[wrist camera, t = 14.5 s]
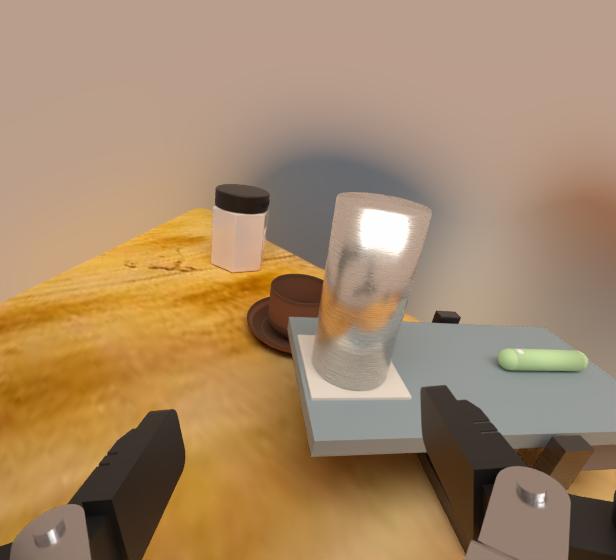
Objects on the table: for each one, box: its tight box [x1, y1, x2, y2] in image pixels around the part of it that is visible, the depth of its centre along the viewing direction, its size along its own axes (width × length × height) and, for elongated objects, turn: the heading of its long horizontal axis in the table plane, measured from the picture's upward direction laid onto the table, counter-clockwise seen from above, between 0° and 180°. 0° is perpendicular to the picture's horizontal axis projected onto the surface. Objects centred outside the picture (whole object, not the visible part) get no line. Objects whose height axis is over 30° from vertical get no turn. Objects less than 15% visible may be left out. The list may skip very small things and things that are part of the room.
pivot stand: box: [417, 311, 595, 554], centre depth 28 cm, size 8×16×9 cm, turn 9°
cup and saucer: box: [247, 274, 324, 353], centre depth 41 cm, size 12×12×6 cm
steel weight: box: [311, 192, 432, 391], centre depth 22 cm, size 5×5×11 cm
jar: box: [211, 184, 270, 273], centre depth 56 cm, size 9×8×12 cm
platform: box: [287, 317, 616, 471], centre depth 27 cm, size 25×12×7 cm, turn 99°
